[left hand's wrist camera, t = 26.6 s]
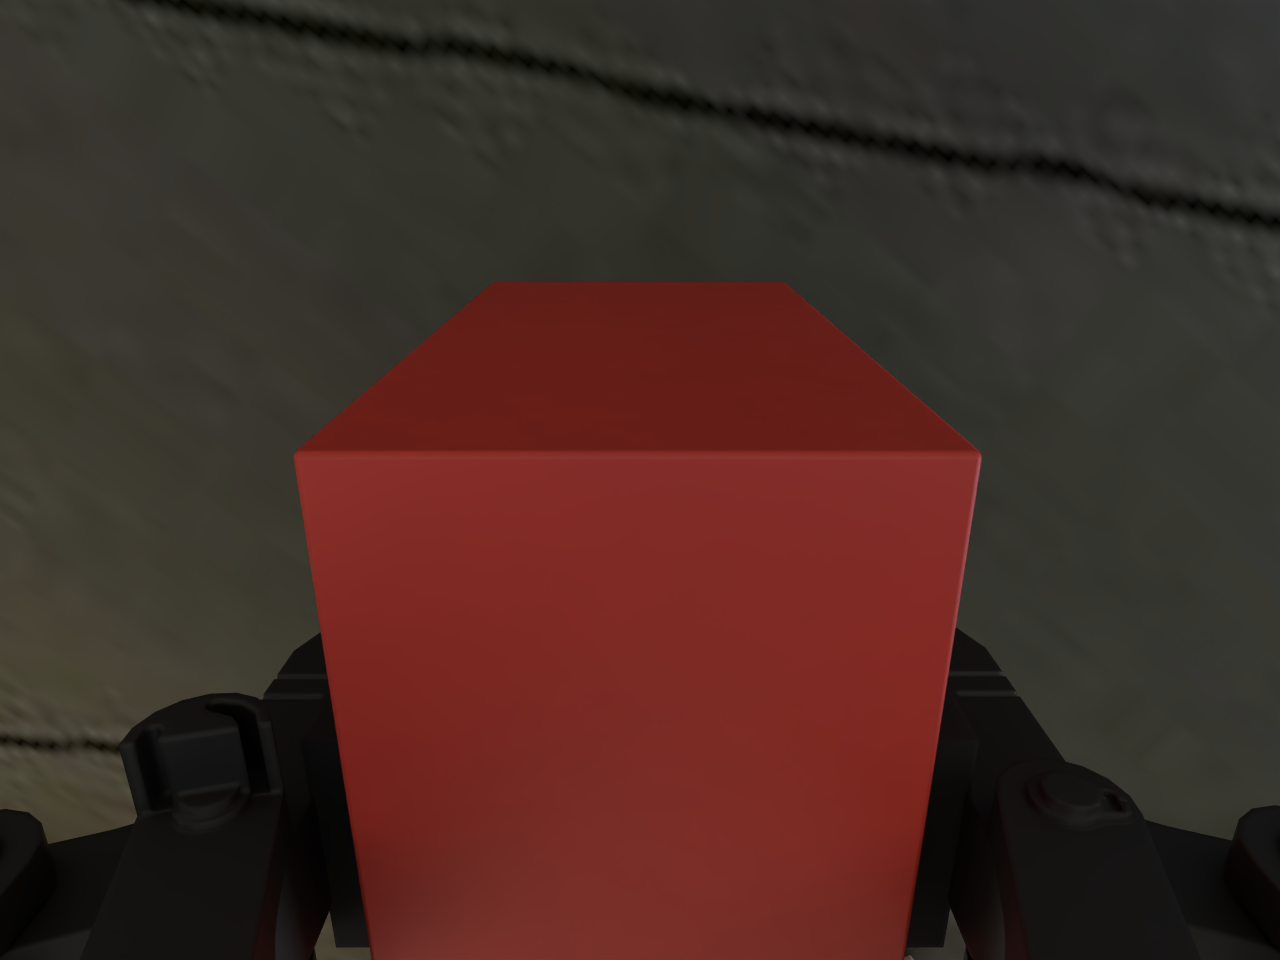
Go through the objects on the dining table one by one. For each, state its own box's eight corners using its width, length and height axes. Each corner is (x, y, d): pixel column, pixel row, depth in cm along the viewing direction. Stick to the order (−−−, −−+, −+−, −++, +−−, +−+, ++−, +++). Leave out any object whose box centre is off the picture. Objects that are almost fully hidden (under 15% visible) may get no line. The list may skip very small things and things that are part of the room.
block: (785, 281, 14) (985, 452, 6) (758, 723, 18) (865, 1226, 9) (491, 281, 14) (288, 452, 6) (518, 723, 18) (411, 1227, 9)
